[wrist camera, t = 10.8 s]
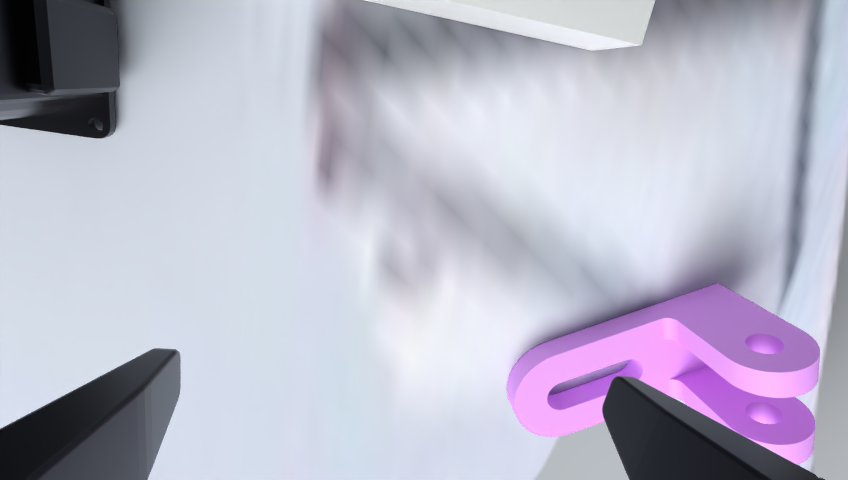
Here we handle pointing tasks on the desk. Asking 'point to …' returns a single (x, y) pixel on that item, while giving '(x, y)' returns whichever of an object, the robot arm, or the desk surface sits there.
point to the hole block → (548, 18)
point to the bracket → (682, 369)
